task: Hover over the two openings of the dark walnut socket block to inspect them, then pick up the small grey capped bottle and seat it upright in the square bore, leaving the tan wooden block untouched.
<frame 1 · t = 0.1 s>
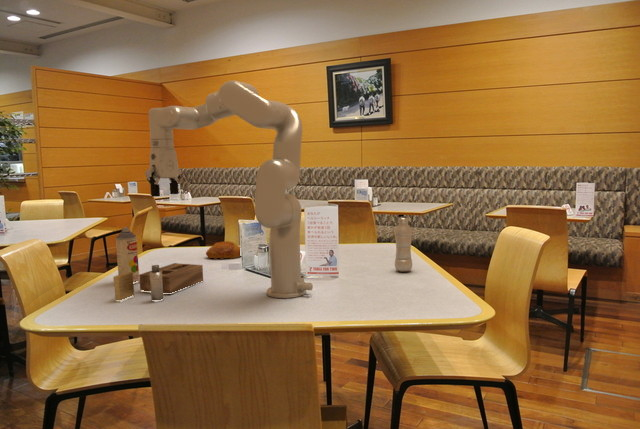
hand: (165, 195, 171), 31 cm above the table, fingers open, 9 cm apart
plastic bottle: (403, 271, 183), on the table
small grey capped bottle: (157, 300, 153), on the table
tan wooden block: (125, 299, 156), on the table
aerosol can: (129, 283, 177), on the table
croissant: (225, 257, 220), on the table
socket block: (173, 286, 169), on the table
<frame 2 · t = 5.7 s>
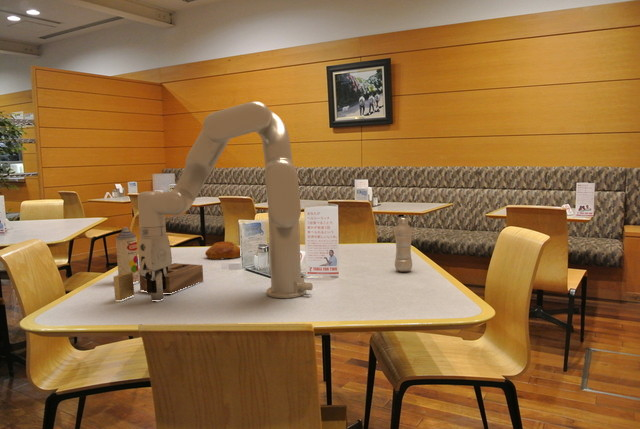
hand: (156, 290, 153), 3 cm above the table, fingers closed on small grey capped bottle, 3 cm apart
small grey capped bottle: (157, 300, 153), on the table, touching gripper
everything else where it was.
when the fingers open (7 cm above the table, at t = 9.6 s): small grey capped bottle drops 4 cm, resting in socket block.
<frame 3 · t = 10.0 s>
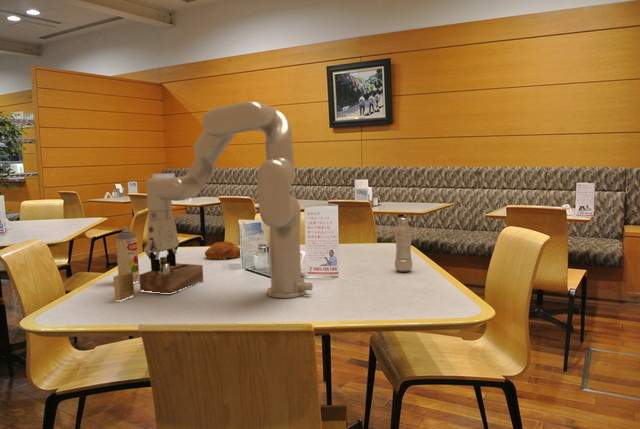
hand: (163, 268, 165), 7 cm above the table, fingers open, 7 cm apart
small grey capped bottle: (165, 289, 166), resting in socket block
everything else where it was.
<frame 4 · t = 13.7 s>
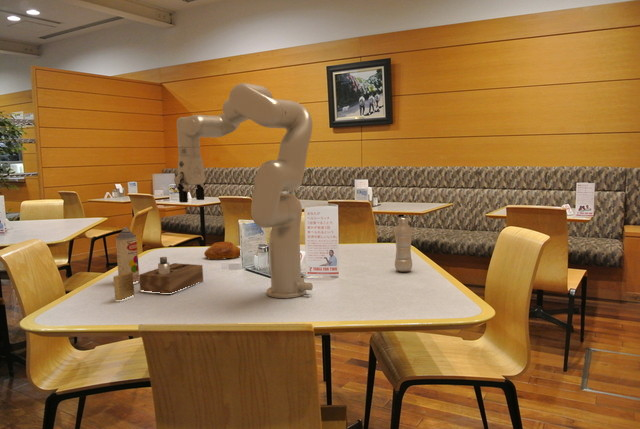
hand: (192, 201, 177), 28 cm above the table, fingers open, 9 cm apart
nothing on the table moved.
at the end: small grey capped bottle 0.0 cm from the target spot on the socket block, point 0.0 cm above the socket block's base; small grey capped bottle tilted 0°; the gripper is holding nothing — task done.
